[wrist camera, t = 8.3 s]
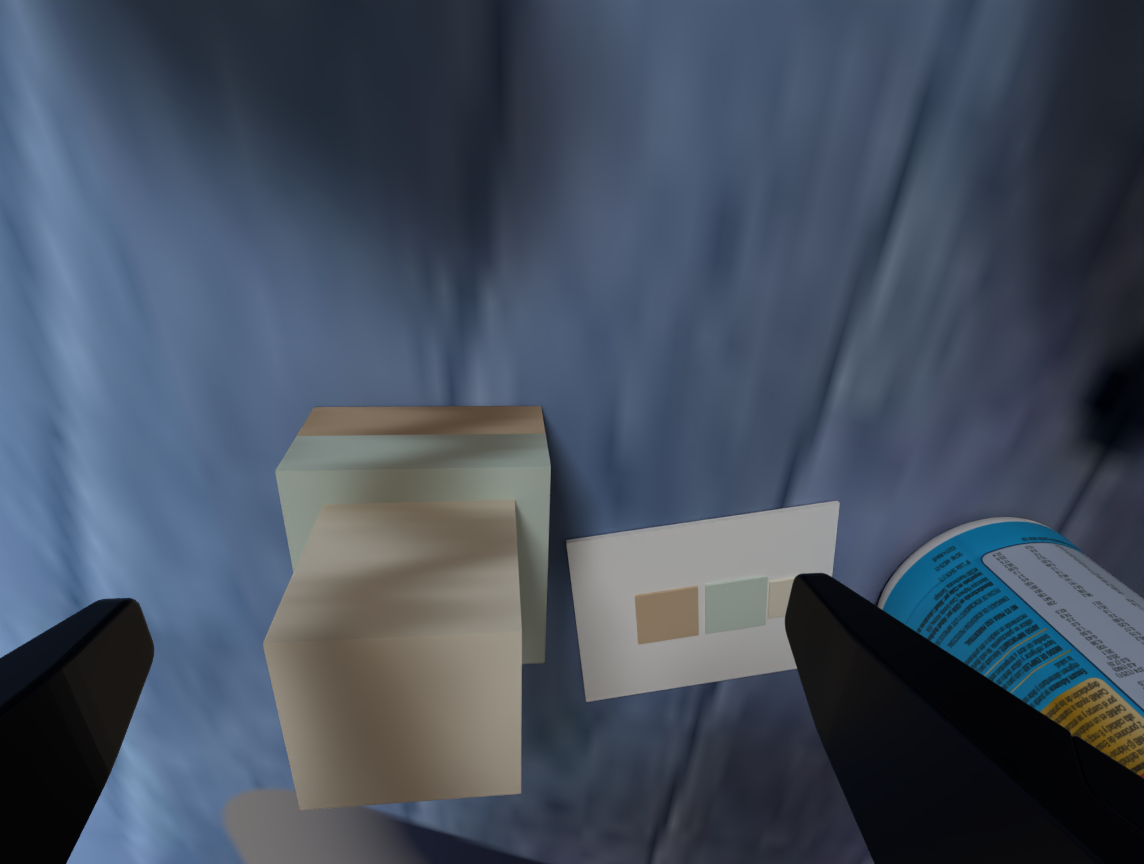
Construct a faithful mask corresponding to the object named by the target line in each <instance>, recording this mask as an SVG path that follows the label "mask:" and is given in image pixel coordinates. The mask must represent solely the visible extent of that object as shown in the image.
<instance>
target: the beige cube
mask: <svg viewBox="0 0 1144 864" xmlns="http://www.w3.org/2000/svg"><path fill="white" fill-rule="evenodd" d="M263 647H264V651H265V656H266V660H267V665H268V669H269V674H270V678H271V683H272V687H273V692H274V696H275V700H276V705H277V709H278V714H279V718H280V723H281V727H282V732H283V736H284V741H285V745H286V750H287V754H288V758H289V763H290V767H291V772H292V776H293V781H294V785H295V790H296V794H297V798H298V803H299V807H300V810H310V809H324V808H335V807H350V806H363V805H377V804H390V803H403V802H416V801H430V800H443V799H456V798H469V797H482V796H496V795H509V794H521V703H522V624H521V606H520V587H519V569H518V550H517V532H516V514H515V500H483V501H443V502H403V503H363V504H323V506H322V508H321V510H320V513H319V515H318V517H317V520H316V522H315V524H314V527H313V529H312V531H311V534H310V536H309V538H308V540H307V543H306V545H305V547H304V550H303V552H302V554H301V557H300V559H299V561H298V563H297V566H296V568H295V570H294V573H293V575H292V577H291V580H290V582H289V584H288V587H287V589H286V591H285V593H284V596H283V598H282V600H281V603H280V605H279V607H278V610H277V612H276V614H275V616H274V619H273V621H272V623H271V626H270V628H269V630H268V633H267V635H266V637H265V640H264V642H263Z"/></svg>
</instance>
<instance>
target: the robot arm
mask: <svg viewBox="0 0 1144 864" xmlns="http://www.w3.org/2000/svg"><path fill="white" fill-rule="evenodd" d="M785 631H786V635H787V638H788V641H789V644H790V648H791V651H792V654H793V657H794V660H795V663H796V667H797V670H798V673H799V676H800V679H801V683H802V686H803V689H804V692H805V695H806V698H807V702H808V705H809V708H810V711H811V714H812V717H813V720H814V723H815V726H816V729H817V732H818V734H819V737H820V739H821V742H822V744H823V747H824V749H825V751H826V754H827V756H828V758H829V760H830V763H831V765H832V767H833V770H834V772H835V774H836V776H837V779H838V781H839V783H840V786H841V788H842V790H843V793H844V795H845V797H846V799H847V802H848V804H849V806H850V809H851V811H852V813H853V815H854V818H855V820H856V822H857V825H858V827H859V829H860V831H861V834H862V836H863V838H864V841H865V843H866V845H867V848H868V850H869V852H870V854H871V857H872V859H873V861H874V864H1144V778H1143V777H1141V776H1139V775H1138V774H1136V773H1135V772H1133V771H1131V770H1130V769H1128V768H1127V767H1125V766H1124V765H1122V764H1120V763H1119V762H1117V761H1116V760H1114V759H1112V758H1111V757H1109V756H1108V755H1106V754H1105V753H1103V752H1101V751H1100V750H1098V749H1097V748H1095V747H1094V746H1092V745H1091V744H1089V743H1088V742H1086V741H1085V740H1083V739H1081V738H1080V737H1078V736H1072V735H1071V733H1070V731H1069V730H1067V729H1066V728H1064V727H1063V726H1061V725H1060V724H1058V723H1056V722H1055V721H1053V720H1052V719H1050V718H1049V717H1047V716H1046V715H1044V714H1043V713H1041V712H1039V711H1038V710H1036V709H1035V708H1033V707H1032V706H1030V705H1029V704H1027V703H1026V702H1024V701H1022V700H1021V699H1019V698H1018V697H1016V696H1015V695H1013V694H1012V693H1010V692H1009V691H1007V690H1005V689H1004V688H1002V687H1001V686H999V685H998V684H996V683H995V682H993V681H992V680H990V679H988V678H987V677H985V676H984V675H982V674H981V673H979V672H978V671H976V670H975V669H973V668H971V667H970V666H968V665H967V664H965V663H964V662H962V661H961V660H959V659H958V658H956V657H955V656H953V655H951V654H950V653H948V652H947V651H945V650H944V649H942V648H941V647H939V646H938V645H936V644H934V643H933V642H931V641H930V640H928V639H927V638H925V637H924V636H922V635H921V634H919V633H917V632H916V631H914V630H913V629H911V628H910V627H908V626H907V625H905V624H904V623H902V622H900V621H899V620H897V619H896V618H894V617H893V616H891V615H890V614H888V613H887V612H885V611H883V610H882V609H880V608H879V607H877V606H876V605H874V604H873V603H871V602H870V601H868V600H866V599H865V598H863V597H862V596H860V595H859V594H857V593H856V592H854V591H853V590H851V589H849V588H848V587H846V586H845V585H843V584H842V583H840V582H839V581H837V580H836V579H834V578H832V577H831V576H829V575H827V574H825V573H802V574H799V575H797V576H796V577H795V578H794V581H793V584H792V588H791V592H790V597H789V601H788V605H787V610H786V614H785ZM153 657H154V644H153V640H152V637H151V635H150V632H149V629H148V626H147V623H146V621H145V618H144V615H143V612H142V609H141V607H140V605H139V603H138V602H137V601H136V600H134V599H131V598H115V599H102V600H98V601H96V602H94V603H92V604H91V605H89V606H87V607H86V608H84V609H82V610H81V611H79V612H77V613H76V614H74V615H72V616H70V617H69V618H67V619H65V620H64V621H62V622H60V623H59V624H57V625H55V626H54V627H52V628H50V629H49V630H47V631H45V632H44V633H42V634H40V635H38V636H37V637H35V638H33V639H32V640H30V641H28V642H27V643H25V644H23V645H22V646H20V647H18V648H17V649H15V650H13V651H12V652H10V653H8V654H7V655H5V656H3V657H1V658H0V864H66V863H67V861H68V859H69V857H70V855H71V853H72V851H73V849H74V847H75V845H76V843H77V841H78V839H79V837H80V835H81V833H82V831H83V829H84V827H85V825H86V823H87V821H88V819H89V817H90V814H91V812H92V810H93V808H94V806H95V804H96V802H97V800H98V798H99V796H100V794H101V792H102V790H103V788H104V786H105V784H106V782H107V779H108V777H109V775H110V773H111V770H112V768H113V765H114V763H115V761H116V758H117V756H118V753H119V750H120V748H121V745H122V742H123V740H124V737H125V734H126V732H127V729H128V726H129V724H130V721H131V718H132V716H133V713H134V710H135V708H136V705H137V702H138V700H139V697H140V694H141V692H142V689H143V686H144V684H145V681H146V678H147V676H148V673H149V670H150V667H151V665H152V662H153Z"/></svg>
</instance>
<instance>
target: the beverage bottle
mask: <svg viewBox="0 0 1144 864" xmlns="http://www.w3.org/2000/svg"><path fill="white" fill-rule="evenodd" d="M877 607H879V608H880V609H882V610H883V611H885V612H887V613H888V614H890V615H891V616H893V617H894V618H896V619H897V620H899V621H900V622H902V623H904V624H905V625H907V626H908V627H910V628H911V629H913V630H914V631H916V632H917V633H919V634H921V635H922V636H924V637H925V638H927V639H928V640H930V641H931V642H933V643H934V644H936V645H938V646H939V647H941V648H942V649H944V650H945V651H947V652H948V653H950V654H951V655H953V656H955V657H956V658H958V659H959V660H961V661H962V662H964V663H965V664H967V665H968V666H970V667H971V668H973V669H975V670H976V671H978V672H979V673H981V674H982V675H984V676H985V677H987V678H988V679H990V680H992V681H993V682H995V683H996V684H998V685H999V686H1001V687H1002V688H1004V689H1005V690H1007V691H1009V692H1010V693H1012V694H1013V695H1015V696H1016V697H1018V698H1019V699H1021V700H1022V701H1024V702H1026V703H1027V704H1029V705H1030V706H1032V707H1033V708H1035V709H1036V710H1038V711H1039V712H1041V713H1043V714H1044V715H1046V716H1047V717H1049V718H1050V719H1052V720H1053V721H1055V722H1056V723H1058V724H1060V725H1061V726H1063V727H1064V728H1066V729H1067V730H1069V731H1070V733H1071V735H1072V736H1078V737H1080V738H1081V739H1083V740H1085V741H1086V742H1088V743H1089V744H1091V745H1092V746H1094V747H1095V748H1097V749H1098V750H1100V751H1101V752H1103V753H1105V754H1106V755H1108V756H1109V757H1111V758H1112V759H1114V760H1116V761H1117V762H1119V763H1120V764H1122V765H1124V766H1125V767H1127V768H1128V769H1130V770H1131V771H1133V772H1135V773H1136V774H1138V775H1139V776H1141V777H1143V778H1144V598H1142V597H1141V596H1140V595H1138V594H1137V593H1136V592H1134V591H1133V590H1132V589H1130V588H1129V587H1127V586H1126V585H1125V584H1123V583H1122V582H1121V581H1119V580H1118V579H1117V578H1115V577H1114V576H1113V575H1111V574H1110V573H1109V572H1107V571H1106V570H1105V569H1103V568H1102V567H1101V566H1099V565H1098V564H1097V563H1096V562H1094V561H1093V560H1092V559H1090V558H1089V557H1088V556H1086V555H1085V554H1084V553H1083V552H1082V551H1081V550H1079V549H1078V548H1077V547H1076V546H1075V545H1073V544H1072V543H1071V542H1070V541H1068V540H1067V539H1066V538H1064V537H1063V536H1062V535H1060V534H1059V533H1058V532H1056V531H1055V530H1053V529H1051V528H1049V527H1048V526H1045V525H1043V524H1041V523H1038V522H1035V521H1032V520H1028V519H1023V518H1015V517H995V518H987V519H981V520H977V521H973V522H969V523H966V524H963V525H960V526H957V527H955V528H952V529H950V530H948V531H946V532H944V533H942V534H940V535H938V536H936V537H935V538H933V539H931V540H930V541H928V542H927V543H925V544H924V545H923V546H921V547H920V548H919V549H917V550H916V551H915V552H914V553H913V554H911V555H910V556H909V557H908V558H907V559H906V560H905V561H904V562H903V563H902V564H901V565H900V566H899V568H898V569H897V570H896V571H895V573H894V574H893V575H892V577H891V578H890V580H889V581H888V583H887V585H886V586H885V588H884V590H883V592H882V595H881V597H880V600H879V603H878V606H877Z"/></svg>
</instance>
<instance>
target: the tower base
mask: <svg viewBox="0 0 1144 864" xmlns="http://www.w3.org/2000/svg"><path fill="white" fill-rule="evenodd" d="M275 473H276V479H277V484H278V490H279V495H280V501H281V506H282V512H283V517H284V523H285V528H286V534H287V539H288V545H289V550H290V556H291V562H292V567H293V573H294V570H295V568H296V566H297V563H298V561H299V559H300V557H301V554H302V552H303V550H304V547H305V545H306V543H307V540H308V538H309V536H310V534H311V531H312V529H313V527H314V524H315V522H316V520H317V517H318V515H319V513H320V510H321V508H322V506H323V504H363V503H403V502H443V501H483V500H515V514H516V532H517V550H518V569H519V587H520V606H521V624H522V664H532V663H545V641H546V609H547V576H548V544H549V511H550V479H551V464H550V458H549V452H548V446H547V440H546V433H545V427H544V421H543V415H542V409H541V406H445V407H314V408H313V410H312V411H311V413H310V415H309V416H308V418H307V420H306V421H305V423H304V425H303V426H302V428H301V429H300V431H299V433H298V434H297V436H296V438H295V439H294V441H293V443H292V444H291V446H290V448H289V449H288V451H287V453H286V454H285V456H284V457H283V459H282V461H281V462H280V464H279V466H278V467H277V469H276V471H275Z"/></svg>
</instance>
